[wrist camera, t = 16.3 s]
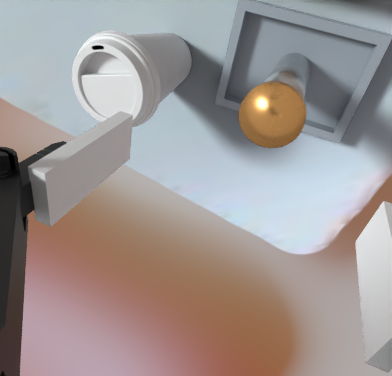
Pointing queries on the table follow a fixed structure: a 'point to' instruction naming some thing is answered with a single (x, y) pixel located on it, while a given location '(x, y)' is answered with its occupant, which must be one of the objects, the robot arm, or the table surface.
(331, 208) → the table surface
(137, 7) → the table surface
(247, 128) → the hitch pin
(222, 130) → the table surface
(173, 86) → the coffee cup
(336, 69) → the tray
